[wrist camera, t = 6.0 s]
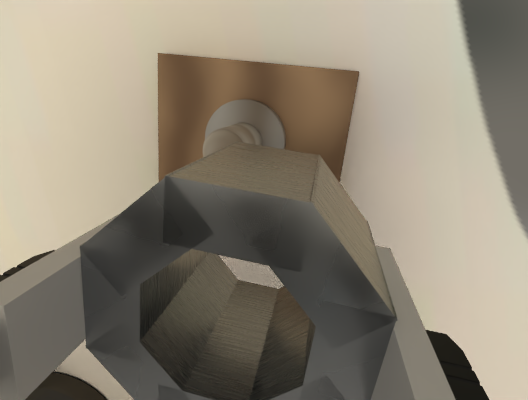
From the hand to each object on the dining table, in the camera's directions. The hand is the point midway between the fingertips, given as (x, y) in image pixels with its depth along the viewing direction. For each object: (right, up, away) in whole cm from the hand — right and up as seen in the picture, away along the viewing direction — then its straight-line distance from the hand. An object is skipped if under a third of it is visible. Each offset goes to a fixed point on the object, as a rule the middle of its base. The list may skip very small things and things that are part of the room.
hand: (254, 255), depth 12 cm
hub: (0, 0, +2) cm, 2 cm away
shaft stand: (-1, +8, +16) cm, 18 cm away
